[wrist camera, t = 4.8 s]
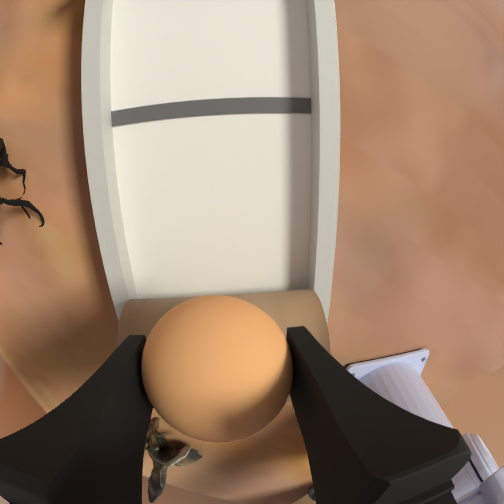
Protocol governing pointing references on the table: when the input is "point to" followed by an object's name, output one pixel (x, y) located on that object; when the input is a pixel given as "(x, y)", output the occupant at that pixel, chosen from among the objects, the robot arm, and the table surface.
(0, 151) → the creature
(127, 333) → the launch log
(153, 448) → the withered leafy plant
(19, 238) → the table surface
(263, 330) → the ball
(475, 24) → the table surface
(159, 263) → the lane
